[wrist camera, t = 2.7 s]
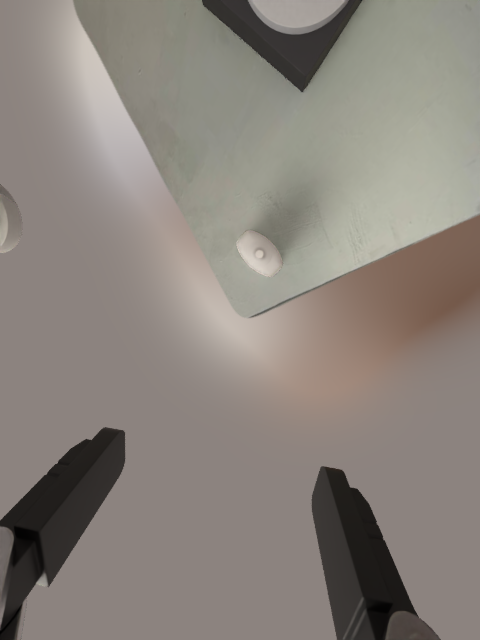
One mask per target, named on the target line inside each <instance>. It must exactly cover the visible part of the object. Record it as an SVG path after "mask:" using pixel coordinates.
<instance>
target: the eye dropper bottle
mask: <svg viewBox="0 0 480 640" xmlns="http://www.w3.org/2000/svg"><path fill="white" fill-rule="evenodd" d="M236 244H237V248H238V251H239V253H240V255H241V256H242V258H243V259H244V261H245V262H246V263H247V264H248V265H249V266H250V267H251V268H252V269H253V270H255V271H256V272H258V273H260V274H262V275H264V276H267V277H272V276H274V275H275V274H276V273H277V272H278V271H279V270H280V269H281V268H282V266H283V261H282V258H281V255H280V253H279V251H278V250H277V248H276V247H275V246H274V244H273V243H272V242H271V241H270V240H269V239H267V238H266V237H265V236H263V235H262V234H260V233H258V232H255V231H253V230H247V231H245V232H244V233H243V234H242V235H241V237H240V238H239V239H238V240H237V243H236Z"/></svg>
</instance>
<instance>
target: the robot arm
mask: <svg viewBox="0 0 480 640" xmlns="http://www.w3.org/2000/svg"><path fill="white" fill-rule="evenodd" d="M124 463H125V432H124V431H123V430H118V429H112V428H106V427H105V428H103V429H101V430H100V431H99V433H98V434H97V435H96V436H95V437H94V438H93V439H92V440H88V439H86V440H84V441H82V442H81V443H79V444H77V445H76V446H74V447H73V448H71V449H70V450H69V451H68V452H67V453H66V454H65V455H64V456H63V457H62V458H61V459H60V460H59V461H58V463H57V464H55V465H54V466H53V467H52V468H51V469H50V470H49V472H48V473H47V475H44V477H43V478H42V479H41V480H40V481H39V482H38V483H37V484H36V485H35V486H34V487H33V488H32V489H31V490H30V491H29V492H28V493H27V494H26V495H25V496H24V497H23V498H22V499H21V500H20V501H19V502H18V503H17V504H16V505H15V506H14V507H13V508H12V509H11V510H10V511H9V512H8V513H7V514H6V515H5V516H4V517H3V519H1V520H0V640H21V637H22V631H23V624H24V618H25V611H26V605H27V598H26V597H27V596H28V594H29V593H30V591H31V590H32V588H33V587H34V585H35V584H37V585H41V586H46V587H49V586H50V584H51V583H52V581H53V579H54V578H55V576H56V575H57V573H58V572H59V570H60V568H61V567H62V565H63V564H64V562H65V561H66V559H67V558H68V556H69V554H70V553H71V551H72V550H73V548H74V547H75V545H76V543H77V542H78V540H79V539H80V537H81V535H82V534H83V533H84V531H85V529H86V528H87V526H88V525H89V523H90V522H91V520H92V518H93V517H94V515H95V514H96V512H97V510H98V509H99V507H100V506H101V504H102V503H103V501H104V500H105V498H106V497H107V495H108V493H109V492H110V490H111V489H112V487H113V485H114V484H115V482H116V481H117V479H118V478H119V476H120V474H121V472H122V469H123V467H124ZM312 512H313V518H314V523H315V528H316V534H317V539H318V544H319V549H320V554H321V559H322V565H323V570H324V574H325V580H326V585H327V590H328V595H329V600H330V605H331V610H332V616H333V621H334V626H335V631H336V636H337V640H441V639H440V638H439V637H438V635H437V634H436V633H435V632H434V631H433V630H432V629H431V628H430V627H429V626H428V625H427V624H426V623H425V622H424V621H422V620H421V619H420V618H419V617H418V615H417V613H416V611H415V610H414V607H413V605H412V603H411V601H410V599H409V596H408V594H407V592H406V589H405V587H404V585H403V582H402V580H401V578H400V575H399V573H398V571H397V568H396V566H395V564H394V561H393V559H392V557H391V554H390V552H389V549H388V547H387V545H386V543H385V541H384V540H383V536H382V533H381V531H380V529H379V526H378V525H377V523H376V522H377V521H376V519H375V517H374V515H373V512H372V510H371V507H370V505H369V503H368V502H367V501H366V500H365V498H364V497H363V496H362V494H361V493H360V492H359V490H358V489H355V488H350V487H349V484H348V481H347V478H346V476H345V473H344V472H343V471H342V470H340V469H335V468H329V467H321V468H320V471H319V474H318V478H317V481H316V484H315V488H314V491H313V495H312Z"/></svg>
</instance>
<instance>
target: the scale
mask: <svg viewBox="0 0 480 640" xmlns="http://www.w3.org/2000/svg"><path fill="white" fill-rule="evenodd" d="M361 1H362V0H202V2H203V5H204V6H205V7H207V8H208V9H209V10H210V11H211V12H212V13H213V14H214V15H216V16H217V17H218V18H219V19H220V20H221V21H222V22H224V23H225V24H226V25H227V26H228V27H229V28H230V29H232V30H233V31H234V32H235V33H236V34H237V35H238V36H239V37H241V38H242V39H243V40H244V41H245V42H246V43H247V44H249V45H250V46H251V47H252V48H253V49H254V50H255V51H257V52H258V53H259V54H260V55H261V56H262V57H263V58H264V59H266V60H267V61H268V62H269V63H270V64H271V65H272V66H274V67H275V68H276V69H277V70H278V71H279V72H280V73H282V74H283V75H284V76H285V77H286V78H287V79H288V80H289V81H291V82H292V83H293V84H294V85H295V86H296V87H297V88H299V89H300V90H301V91H302V92H303V91H304V89H305V88H306V86H307V85H308V83H309V82H310V80H311V78H312V77H313V75H314V74H315V72H316V71H317V69H318V68H319V66H320V65H321V63H322V61H323V60H324V58H325V57H326V55H327V54H328V52H329V51H330V49H331V48H332V46H333V44H334V43H335V41H336V40H337V38H338V37H339V35H340V34H341V32H342V30H343V29H344V27H345V26H346V24H347V23H348V21H349V20H350V18H351V17H352V15H353V13H354V12H355V10H356V9H357V7H358V6H359V4H360V3H361Z"/></svg>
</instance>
